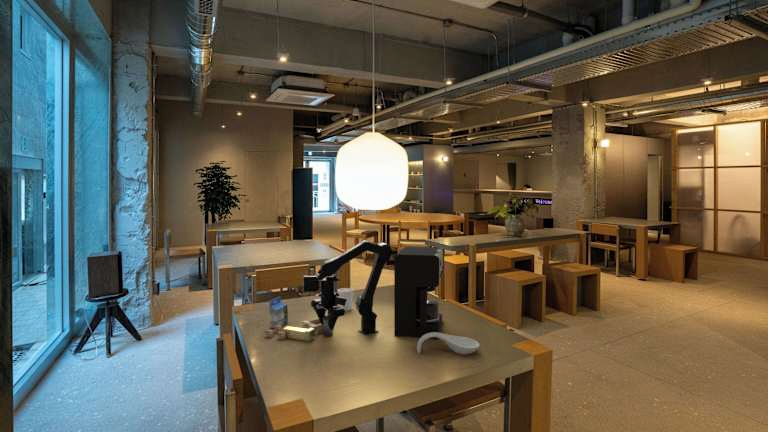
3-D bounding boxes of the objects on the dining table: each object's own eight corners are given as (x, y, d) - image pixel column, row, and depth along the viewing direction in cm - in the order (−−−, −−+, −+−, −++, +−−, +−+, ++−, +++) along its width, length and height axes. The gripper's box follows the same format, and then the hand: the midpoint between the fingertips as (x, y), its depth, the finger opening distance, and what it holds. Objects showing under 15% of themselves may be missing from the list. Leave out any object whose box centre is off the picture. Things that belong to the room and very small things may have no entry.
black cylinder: (334, 335, 169) (334, 317, 168) (326, 337, 166) (326, 318, 166) (329, 332, 172) (329, 314, 171) (321, 335, 169) (321, 316, 169)
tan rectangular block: (314, 338, 165) (314, 328, 165) (309, 341, 162) (309, 331, 161) (288, 333, 170) (288, 324, 170) (282, 337, 167) (282, 327, 166)
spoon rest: (475, 345, 158) (475, 327, 158) (483, 358, 147) (483, 338, 146) (415, 346, 158) (415, 328, 157) (418, 358, 146) (418, 339, 146)
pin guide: (294, 333, 171) (293, 327, 171) (283, 339, 164) (283, 333, 164) (276, 330, 175) (275, 324, 174) (265, 336, 168) (265, 330, 168)
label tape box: (277, 328, 177) (276, 301, 176) (269, 327, 178) (269, 300, 178) (288, 322, 185) (287, 296, 185) (280, 321, 187) (280, 295, 186)
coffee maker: (439, 343, 160) (440, 256, 158) (391, 339, 164) (391, 255, 162) (443, 320, 188) (444, 246, 185) (402, 318, 191) (402, 245, 189)
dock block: (333, 330, 175) (333, 322, 175) (313, 335, 169) (312, 327, 169) (322, 324, 183) (322, 316, 183) (302, 328, 177) (302, 321, 177)
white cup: (354, 307, 210) (354, 288, 209) (351, 311, 202) (351, 292, 201) (339, 306, 211) (339, 287, 210) (336, 311, 203) (336, 291, 202)
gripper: (355, 293, 166) (355, 329, 167) (332, 283, 180) (332, 317, 182) (332, 297, 159) (332, 335, 160) (310, 287, 173) (310, 322, 175)
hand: (327, 327), depth 169 cm, fingers open, 7 cm apart
